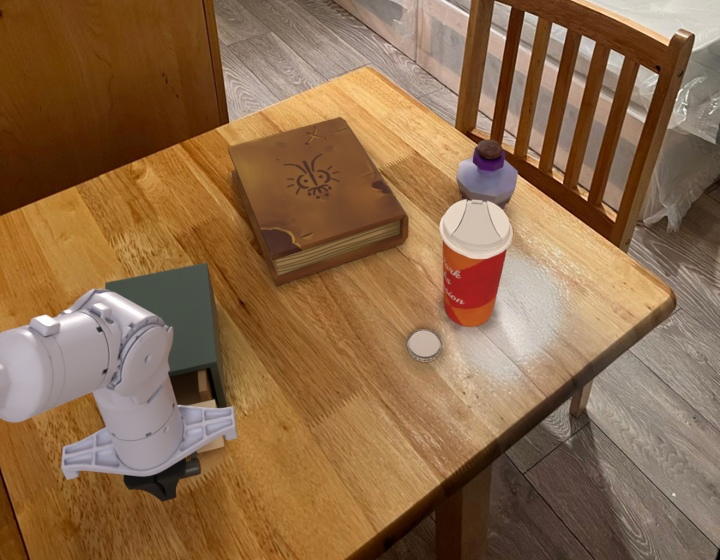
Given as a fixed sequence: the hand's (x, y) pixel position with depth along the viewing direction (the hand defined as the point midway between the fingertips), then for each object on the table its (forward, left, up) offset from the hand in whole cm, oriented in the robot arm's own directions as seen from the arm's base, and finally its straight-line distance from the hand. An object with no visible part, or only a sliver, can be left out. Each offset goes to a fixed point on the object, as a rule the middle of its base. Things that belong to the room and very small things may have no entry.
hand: (168, 489), depth 68 cm
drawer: (0, +9, -4) cm, 10 cm away
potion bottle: (+44, +31, -5) cm, 54 cm away
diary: (+21, +38, -5) cm, 43 cm away
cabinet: (0, +17, -5) cm, 17 cm away
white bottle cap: (+29, +12, -5) cm, 32 cm away
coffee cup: (+36, +16, -5) cm, 40 cm away
